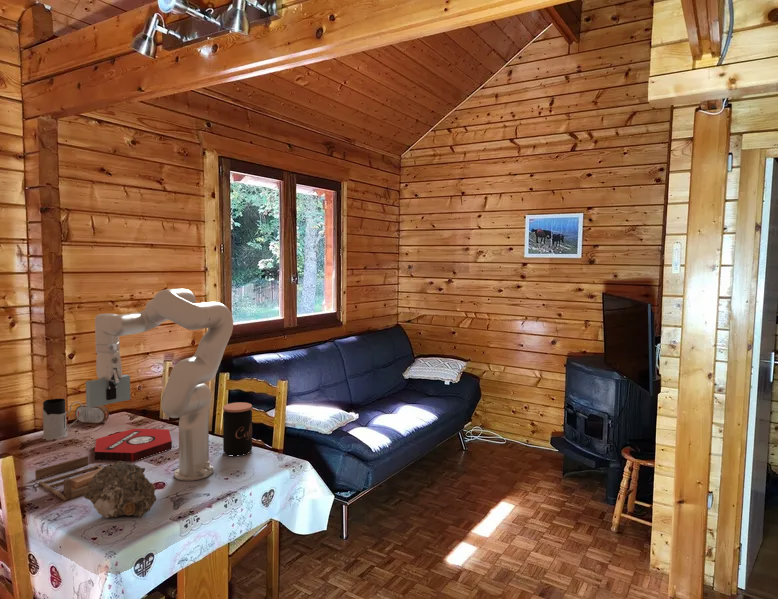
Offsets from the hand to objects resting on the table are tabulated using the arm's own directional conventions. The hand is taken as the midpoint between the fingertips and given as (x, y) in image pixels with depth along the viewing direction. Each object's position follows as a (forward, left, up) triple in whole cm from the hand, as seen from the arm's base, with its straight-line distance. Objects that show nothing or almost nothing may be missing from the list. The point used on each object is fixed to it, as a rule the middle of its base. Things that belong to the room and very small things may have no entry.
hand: (108, 398), depth 183 cm
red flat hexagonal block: (+6, -12, -24) cm, 27 cm away
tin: (+51, -16, -23) cm, 58 cm away
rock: (-43, +14, -23) cm, 51 cm away
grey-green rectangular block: (0, 0, -2) cm, 2 cm away
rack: (-9, +15, -23) cm, 29 cm away
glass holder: (+42, -1, -23) cm, 48 cm away
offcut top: (-17, +14, -22) cm, 31 cm away
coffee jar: (-29, -34, -23) cm, 50 cm away
